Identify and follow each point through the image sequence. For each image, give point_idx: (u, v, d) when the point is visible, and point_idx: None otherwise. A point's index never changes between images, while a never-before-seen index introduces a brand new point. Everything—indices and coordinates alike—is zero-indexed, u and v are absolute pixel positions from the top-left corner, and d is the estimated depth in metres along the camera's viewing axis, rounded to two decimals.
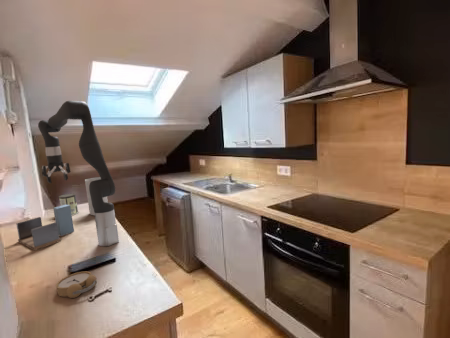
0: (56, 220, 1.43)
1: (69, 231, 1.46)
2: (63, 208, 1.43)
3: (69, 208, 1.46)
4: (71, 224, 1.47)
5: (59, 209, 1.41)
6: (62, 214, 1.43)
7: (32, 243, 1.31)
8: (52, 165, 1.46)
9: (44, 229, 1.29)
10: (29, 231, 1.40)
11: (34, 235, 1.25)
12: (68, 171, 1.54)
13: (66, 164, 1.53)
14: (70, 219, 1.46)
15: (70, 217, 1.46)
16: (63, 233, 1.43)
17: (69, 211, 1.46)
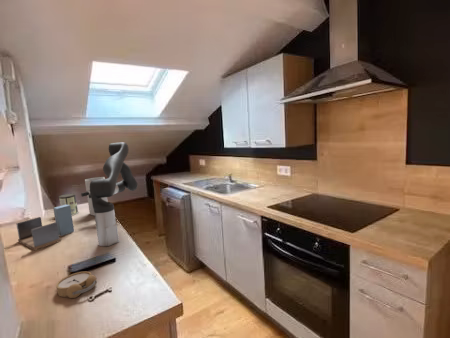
0: (56, 220, 1.43)
1: (69, 231, 1.46)
2: (63, 208, 1.43)
3: (69, 208, 1.46)
4: (71, 224, 1.47)
5: (59, 209, 1.41)
6: (62, 214, 1.43)
7: (32, 243, 1.31)
8: None
9: (44, 229, 1.29)
10: (29, 231, 1.40)
11: (34, 235, 1.25)
12: None
13: None
14: (70, 219, 1.46)
15: (70, 217, 1.46)
16: (63, 233, 1.43)
17: (69, 211, 1.46)
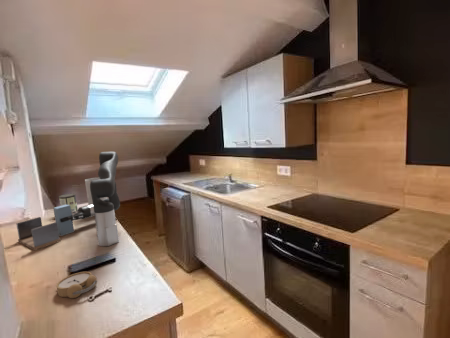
0: (56, 220, 1.43)
1: (69, 231, 1.46)
2: (63, 208, 1.43)
3: (69, 208, 1.46)
4: (71, 224, 1.47)
5: (59, 209, 1.41)
6: (62, 214, 1.43)
7: (32, 243, 1.31)
8: (76, 211, 1.53)
9: (44, 229, 1.29)
10: (29, 231, 1.40)
11: (34, 235, 1.25)
12: (72, 216, 1.45)
13: None
14: None
15: None
16: (63, 233, 1.43)
17: (69, 211, 1.46)
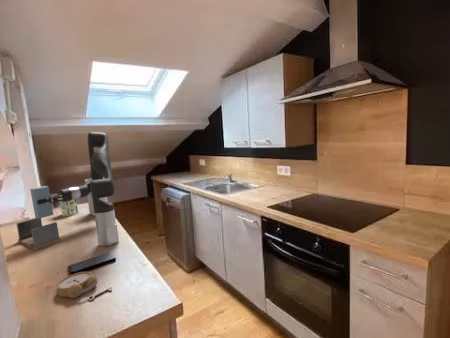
0: (33, 202, 1.34)
1: (48, 214, 1.37)
2: (41, 189, 1.34)
3: (47, 189, 1.37)
4: (50, 207, 1.38)
5: (36, 190, 1.32)
6: (40, 196, 1.34)
7: (32, 243, 1.31)
8: None
9: (44, 229, 1.29)
10: (29, 231, 1.40)
11: (34, 235, 1.25)
12: (50, 198, 1.36)
13: None
14: None
15: None
16: (41, 216, 1.35)
17: (47, 193, 1.37)
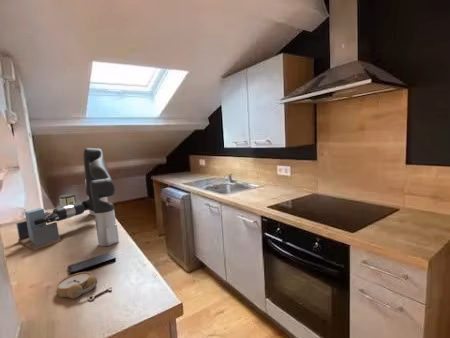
0: (28, 225, 1.33)
1: None
2: (35, 212, 1.33)
3: (42, 212, 1.35)
4: None
5: (31, 213, 1.31)
6: (34, 219, 1.32)
7: (32, 243, 1.31)
8: None
9: (44, 229, 1.29)
10: None
11: (34, 235, 1.25)
12: (47, 218, 1.34)
13: None
14: (44, 224, 1.36)
15: None
16: None
17: (42, 215, 1.35)
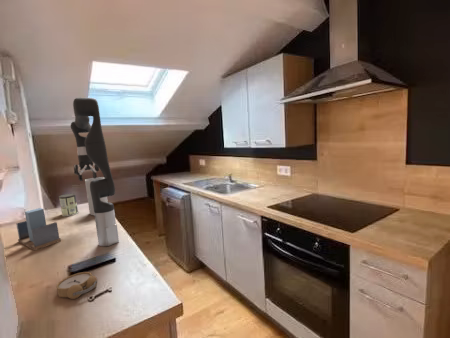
0: (28, 225, 1.33)
1: None
2: (35, 212, 1.33)
3: (42, 212, 1.35)
4: None
5: (31, 213, 1.31)
6: (34, 219, 1.32)
7: (32, 243, 1.31)
8: (83, 164, 1.54)
9: (44, 229, 1.29)
10: None
11: (34, 235, 1.25)
12: (97, 169, 1.62)
13: None
14: (43, 224, 1.36)
15: (43, 222, 1.36)
16: None
17: (42, 215, 1.35)
